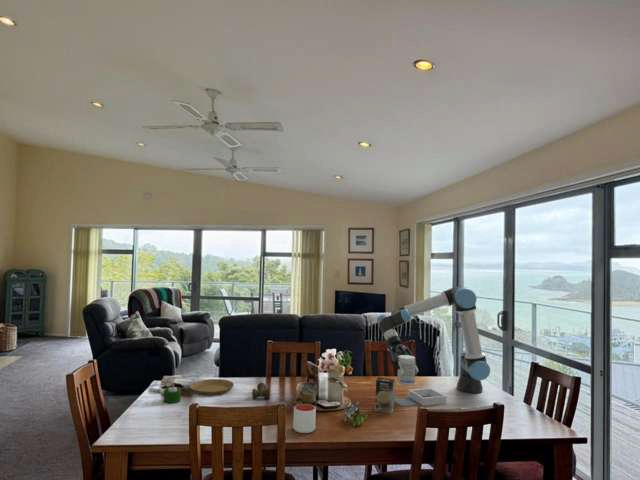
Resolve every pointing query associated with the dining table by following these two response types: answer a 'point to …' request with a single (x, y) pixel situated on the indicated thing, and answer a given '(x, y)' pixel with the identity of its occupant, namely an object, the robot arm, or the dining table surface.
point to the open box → (435, 399)
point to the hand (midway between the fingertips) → (410, 373)
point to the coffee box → (384, 395)
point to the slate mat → (405, 402)
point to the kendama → (261, 391)
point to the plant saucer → (212, 387)
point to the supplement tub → (406, 370)
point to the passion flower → (352, 410)
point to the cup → (304, 418)
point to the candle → (172, 395)
